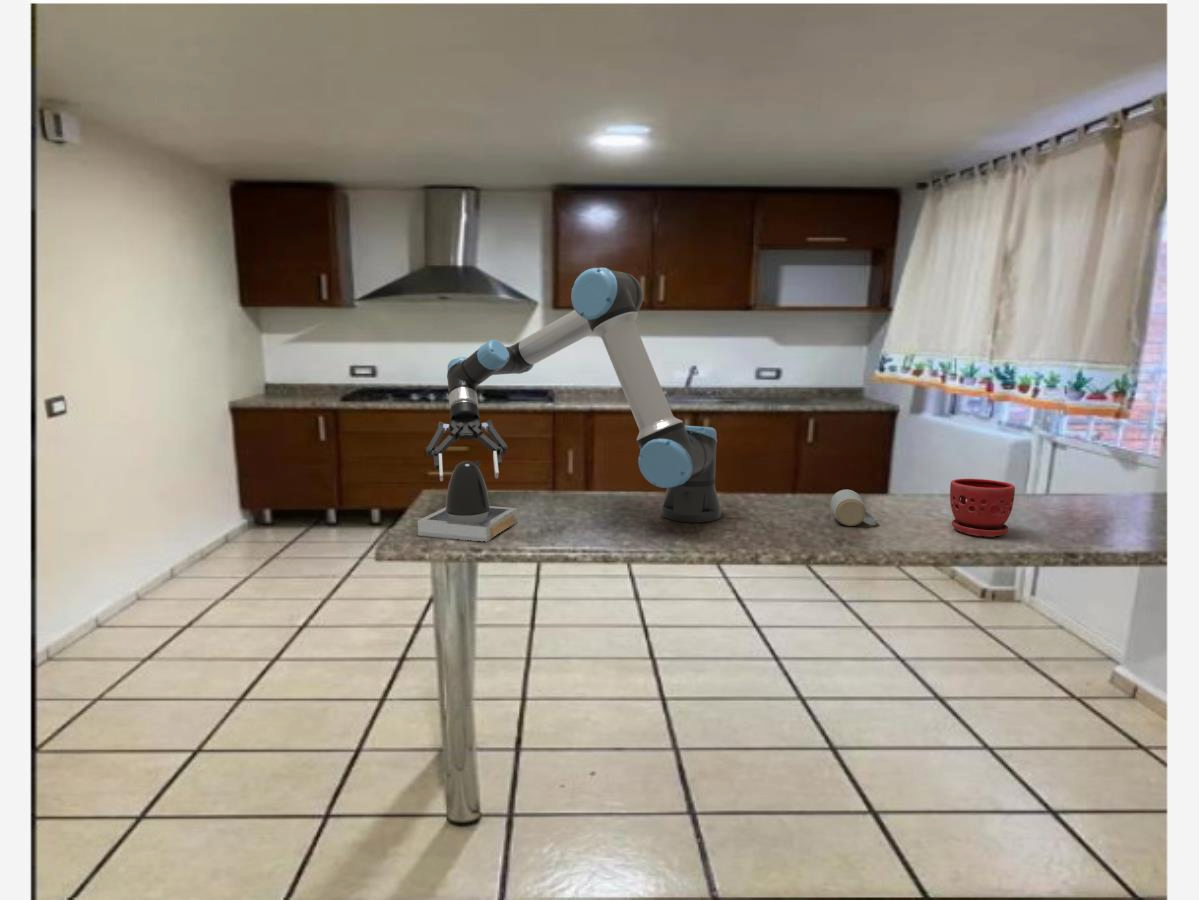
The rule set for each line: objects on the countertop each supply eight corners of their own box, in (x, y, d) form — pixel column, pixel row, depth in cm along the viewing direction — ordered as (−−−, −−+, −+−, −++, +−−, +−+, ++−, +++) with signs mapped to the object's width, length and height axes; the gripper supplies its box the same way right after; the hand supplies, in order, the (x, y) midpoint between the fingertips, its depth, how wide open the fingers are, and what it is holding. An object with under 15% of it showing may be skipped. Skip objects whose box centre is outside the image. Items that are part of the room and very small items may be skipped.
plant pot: (1016, 532, 157) (1022, 482, 155) (1000, 543, 148) (1006, 491, 146) (956, 521, 166) (961, 474, 164) (938, 531, 157) (943, 481, 155)
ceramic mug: (834, 526, 160) (836, 495, 159) (829, 517, 168) (831, 488, 167) (880, 529, 159) (883, 498, 157) (873, 520, 167) (876, 490, 165)
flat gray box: (518, 522, 162) (518, 508, 162) (488, 542, 146) (487, 527, 145) (453, 516, 167) (452, 502, 166) (416, 535, 151) (416, 520, 150)
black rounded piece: (498, 521, 159) (497, 459, 157) (474, 532, 150) (472, 466, 147) (463, 516, 163) (461, 455, 161) (437, 527, 154) (434, 463, 151)
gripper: (510, 415, 183) (518, 481, 172) (416, 418, 177) (418, 487, 166) (512, 398, 177) (520, 466, 166) (414, 401, 171) (416, 471, 160)
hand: (469, 477), depth 166 cm, fingers open, 13 cm apart
